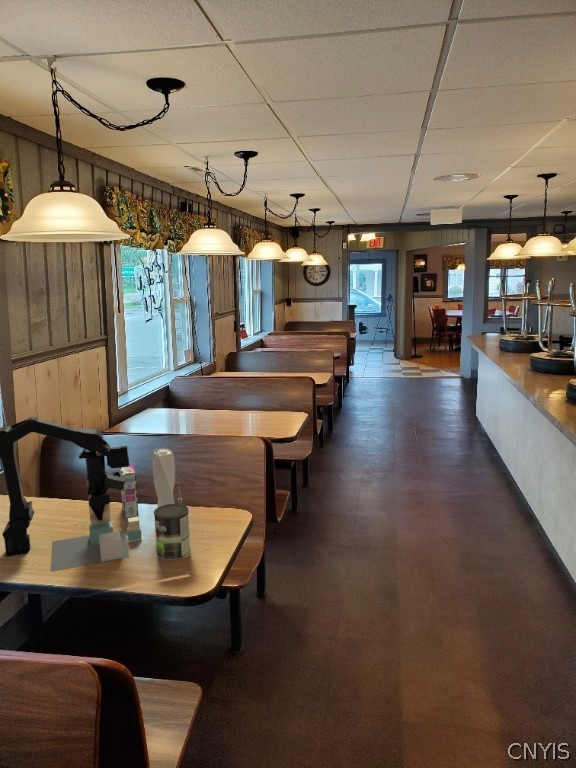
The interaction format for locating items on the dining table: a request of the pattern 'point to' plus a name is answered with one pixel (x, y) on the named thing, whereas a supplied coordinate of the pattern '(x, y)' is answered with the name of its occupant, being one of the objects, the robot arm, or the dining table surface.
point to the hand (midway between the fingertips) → (99, 516)
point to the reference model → (134, 530)
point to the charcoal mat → (79, 552)
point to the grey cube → (110, 546)
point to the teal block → (99, 531)
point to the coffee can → (172, 531)
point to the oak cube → (105, 515)
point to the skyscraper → (164, 476)
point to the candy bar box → (129, 492)
